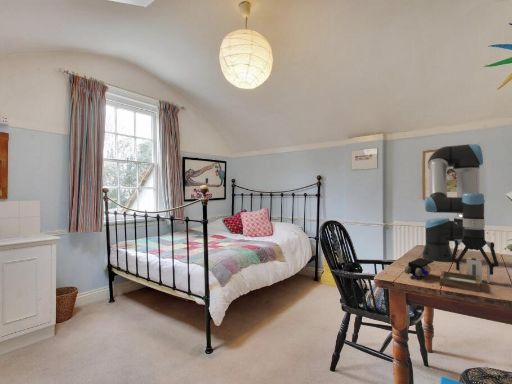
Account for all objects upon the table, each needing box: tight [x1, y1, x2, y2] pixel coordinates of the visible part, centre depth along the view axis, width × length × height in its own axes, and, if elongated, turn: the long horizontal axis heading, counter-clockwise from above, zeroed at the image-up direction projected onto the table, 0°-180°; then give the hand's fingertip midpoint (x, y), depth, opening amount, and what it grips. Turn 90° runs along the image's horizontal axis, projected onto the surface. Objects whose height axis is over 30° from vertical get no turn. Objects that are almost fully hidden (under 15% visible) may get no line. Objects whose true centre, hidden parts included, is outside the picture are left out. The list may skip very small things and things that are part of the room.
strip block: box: [466, 257, 483, 284], centre depth 121 cm, size 5×5×10 cm
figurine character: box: [404, 257, 434, 281], centre depth 127 cm, size 7×8×15 cm
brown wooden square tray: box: [439, 270, 481, 293], centre depth 116 cm, size 13×13×3 cm
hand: (474, 279), depth 120 cm, fingers open, 9 cm apart
